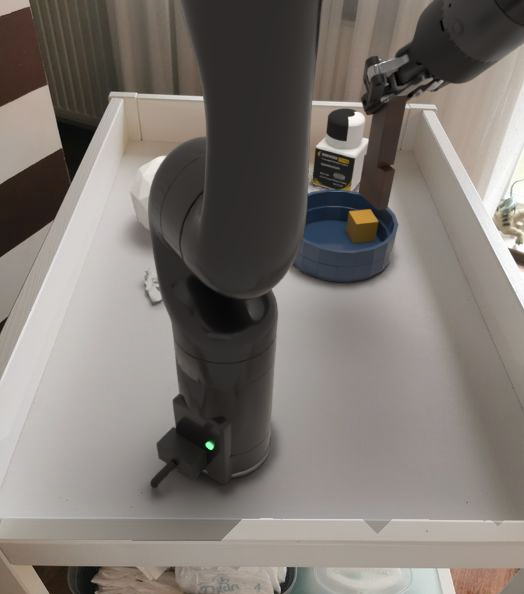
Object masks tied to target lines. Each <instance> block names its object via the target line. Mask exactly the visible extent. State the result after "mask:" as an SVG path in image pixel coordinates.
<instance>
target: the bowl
mask: <svg viewBox="0 0 524 594" xmlns="http://www.w3.org/2000/svg"><path fill="white" fill-rule="evenodd" d="M367 209H371V211H372V212H373V214H374V215H375V217H376V218H377V220H378V227H377V232H376V238H375V241H372V242H363V243H354V244H353V242H352V241H351V239H350V237H349V235H348V233H347V232H346V227H347V220H348V214H349V211H357V210H367ZM398 229H399V222H398V219H397V216H396V214H395V213H394V212H393V211H392V209H391V208H390V207H389V206H388V208H385V209H381V210H377V209H376V208H375V207H374V206H373V205H372V204H371V203H369V202H368V201H367V200H366V199H365V198H364V197H363V196H362V195H361V194H360V193H359V191H354V190H353V191H348V190H332V189H322V190H315V191H311V192H308V201H307V214H306V224H305V230H304V235H303V239H302V242H301V245H300V248H299V251H298V254H297V256H296V258H295V260H294V262H293V264H292V265H294V266H295V267H296V268H297V269H299V270H300V271H301V272H303V273H305V274H307V275H309V276H311V277H314V278H316V279H320V280H323V281H327V282H336V283H352V282H353V283H354V282H358V281H359V282H360V281H363V280H367V279H369V278H372V277H374V276H376V275H377V274H378V273H380V272H382V271H383V270H384V269H385V268H386V267H387V266H388V265H389V263H390V262H391V260H392V255H393V251H394V247H395V242H396V239H397V233H398Z"/></svg>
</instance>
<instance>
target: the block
mask: <svg viewBox="0 0 524 594" xmlns="http://www.w3.org/2000/svg"><path fill="white" fill-rule="evenodd" d="M377 227H378V220H377V218H376V217H375V215H374V214H373V212H372V211H371V209H367V210H357V211H349V214H348V220H347V227H346V232H347V233H348V235H349V237H350V239H351V241H352V242H353V244H354V243H363V242H372V241H375V238H376V232H377Z"/></svg>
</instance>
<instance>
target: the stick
mask: <svg viewBox="0 0 524 594" xmlns="http://www.w3.org/2000/svg"><path fill="white" fill-rule="evenodd" d="M388 82H389V86H390V90H391V83H390V79H388ZM407 96H408V94H407V95H404V96H397V97H395V98H393V99H392V100H390V101H389V102H388V103H387V104H386V105H384V106H383V107H382V108H381V109H379V110H378V111H377V112H376V113H374V114H373V115H371V123H370V127H369V134H368V139H369V141H368V147H367V153H366V155H364V161H363V167H362V173H361V180H360V182H359V185H358V192H359V193H360V194H361V195H362V196H363V197H364V198H365V199H366V200H367V201H368V202H369V203H371V204H372V205H373V206H374V207H375V208H376V209H377V210H381V209H385V208H388V207H389V203H390V197H391V193H392V189H393V184H394V183H393V182H394V178H395V174H396V169H395V168H394V167H393V165H395V162H396V161H395V160H396V157H397V156H396V155H397V152H398V146H399V142H400V136H401V131H402V126H403V121H404V116H405V112H406V108H407V107H406V106H407V102H408V101H407Z"/></svg>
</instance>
